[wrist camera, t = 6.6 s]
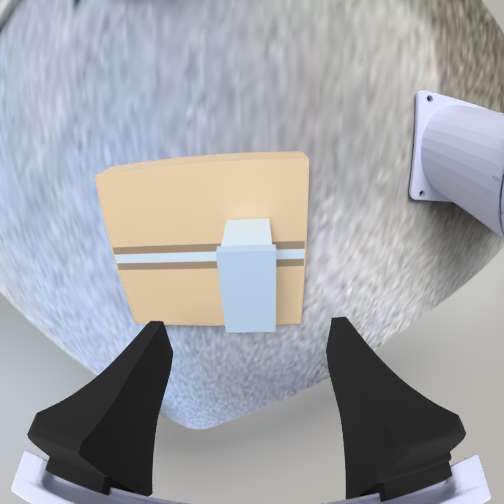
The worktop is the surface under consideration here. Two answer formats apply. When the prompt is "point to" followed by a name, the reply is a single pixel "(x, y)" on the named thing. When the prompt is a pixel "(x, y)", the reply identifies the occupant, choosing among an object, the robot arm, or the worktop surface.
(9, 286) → the worktop surface
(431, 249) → the worktop surface
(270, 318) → the tab
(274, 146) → the worktop surface
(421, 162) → the robot arm
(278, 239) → the carton
